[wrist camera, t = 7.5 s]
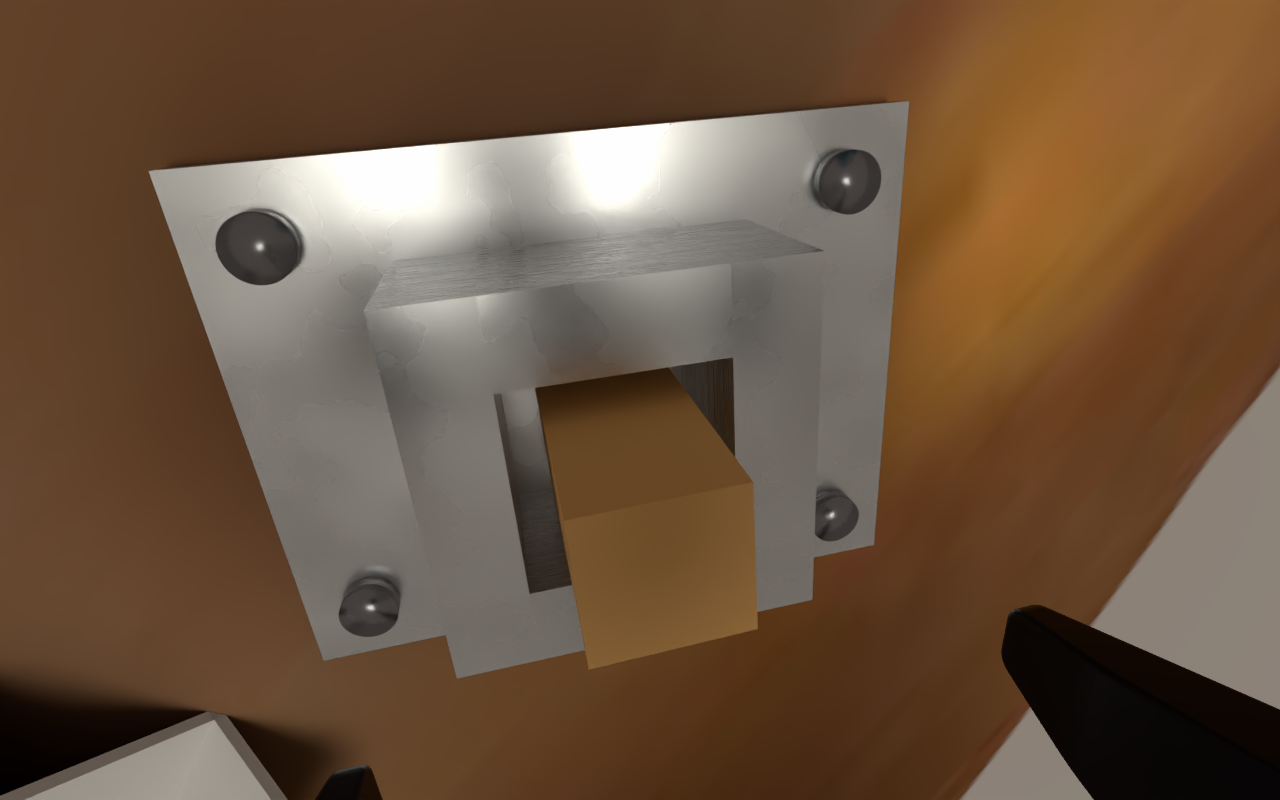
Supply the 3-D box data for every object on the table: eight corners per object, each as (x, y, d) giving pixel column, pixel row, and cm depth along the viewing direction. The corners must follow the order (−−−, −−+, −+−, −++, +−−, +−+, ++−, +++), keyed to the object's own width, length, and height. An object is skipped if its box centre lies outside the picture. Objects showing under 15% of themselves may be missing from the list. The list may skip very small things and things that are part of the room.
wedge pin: (656, 440, 20) (757, 628, 13) (547, 460, 19) (589, 669, 12) (645, 337, 18) (753, 482, 11) (529, 356, 18) (563, 520, 11)
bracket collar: (859, 528, 24) (957, 636, 19) (330, 637, 21) (285, 798, 16) (888, 101, 18) (1038, 98, 13) (167, 167, 15) (21, 194, 10)
